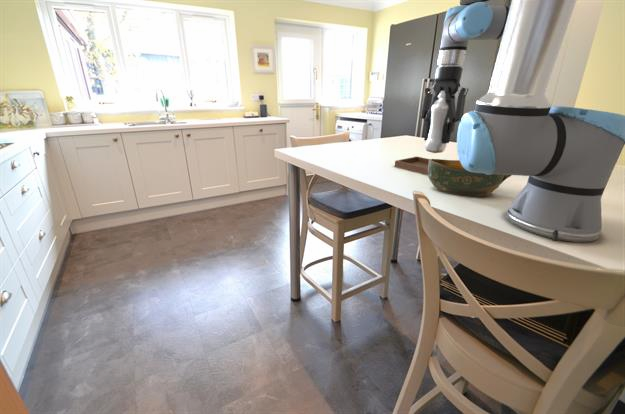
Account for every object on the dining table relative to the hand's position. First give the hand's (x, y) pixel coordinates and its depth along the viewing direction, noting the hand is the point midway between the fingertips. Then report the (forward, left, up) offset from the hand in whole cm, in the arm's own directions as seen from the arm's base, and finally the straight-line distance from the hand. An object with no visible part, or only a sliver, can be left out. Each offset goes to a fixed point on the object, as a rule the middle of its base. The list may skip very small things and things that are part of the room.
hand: (436, 141), depth 97 cm
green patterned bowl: (-14, -19, -10) cm, 26 cm away
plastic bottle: (0, 0, -4) cm, 4 cm away
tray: (0, 0, -10) cm, 10 cm away
